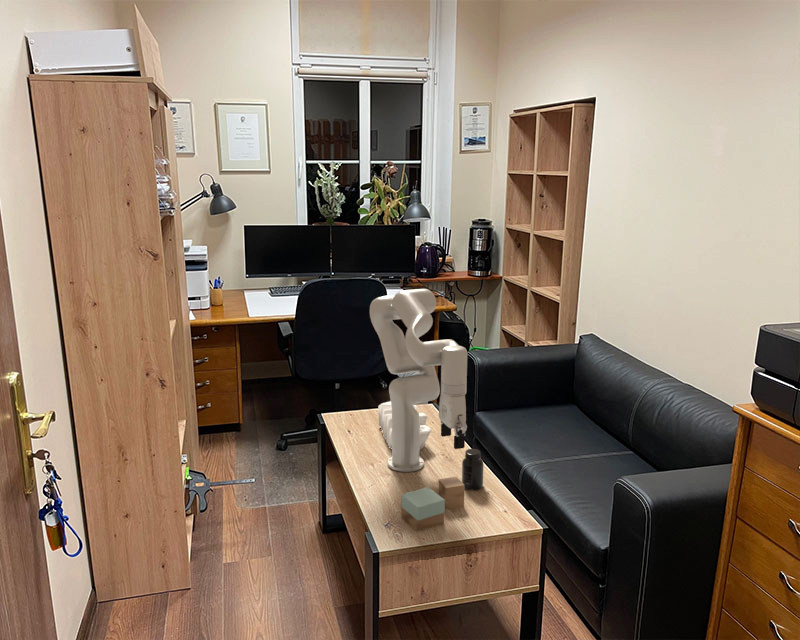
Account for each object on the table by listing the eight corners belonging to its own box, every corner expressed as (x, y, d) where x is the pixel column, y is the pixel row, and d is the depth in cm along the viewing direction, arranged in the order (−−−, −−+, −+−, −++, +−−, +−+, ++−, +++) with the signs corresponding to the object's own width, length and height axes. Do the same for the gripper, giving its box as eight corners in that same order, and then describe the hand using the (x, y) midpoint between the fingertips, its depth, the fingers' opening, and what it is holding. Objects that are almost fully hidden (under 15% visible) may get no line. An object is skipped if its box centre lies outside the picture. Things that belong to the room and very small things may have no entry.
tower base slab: (401, 518, 191) (401, 506, 190) (427, 511, 196) (427, 499, 195) (417, 533, 184) (417, 520, 183) (443, 524, 188) (444, 512, 187)
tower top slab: (401, 506, 190) (401, 494, 189) (427, 499, 195) (427, 487, 194) (418, 520, 183) (418, 507, 182) (444, 512, 187) (444, 499, 186)
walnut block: (438, 500, 202) (438, 479, 200) (455, 497, 204) (456, 476, 202) (445, 509, 196) (446, 488, 195) (464, 506, 198) (464, 485, 196)
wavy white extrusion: (376, 420, 267) (376, 396, 264) (415, 418, 269) (416, 394, 267) (388, 456, 233) (388, 428, 231) (433, 453, 235) (433, 426, 233)
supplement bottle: (469, 479, 215) (470, 445, 213) (486, 485, 211) (488, 450, 209) (457, 486, 210) (458, 452, 208) (475, 493, 206) (476, 457, 203)
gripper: (430, 380, 198) (430, 432, 202) (453, 398, 182) (452, 455, 186) (453, 377, 201) (452, 429, 204) (478, 395, 185) (476, 451, 189)
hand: (452, 441), depth 195 cm, fingers open, 9 cm apart
